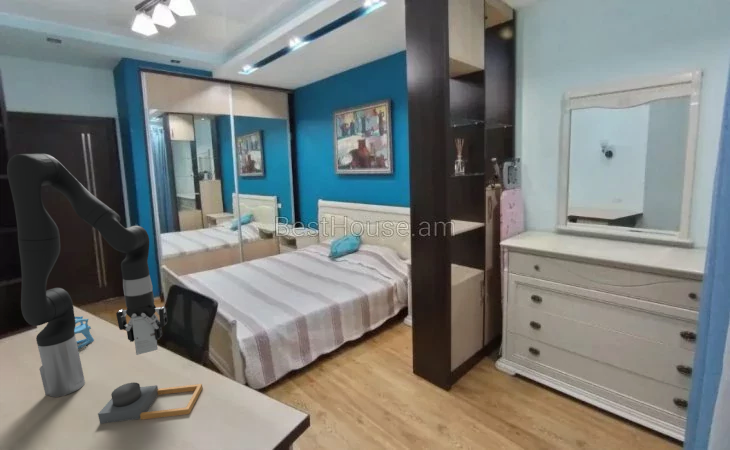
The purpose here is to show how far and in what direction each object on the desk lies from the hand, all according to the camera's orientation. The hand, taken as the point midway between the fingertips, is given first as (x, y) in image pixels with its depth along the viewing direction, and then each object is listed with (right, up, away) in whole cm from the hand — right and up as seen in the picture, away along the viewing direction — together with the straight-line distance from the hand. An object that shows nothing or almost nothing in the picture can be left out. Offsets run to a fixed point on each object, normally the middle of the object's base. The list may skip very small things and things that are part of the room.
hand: (145, 339), depth 116 cm
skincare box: (0, -4, +1) cm, 4 cm away
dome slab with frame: (+7, -17, -8) cm, 20 cm away
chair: (-46, -12, +32) cm, 57 cm away
